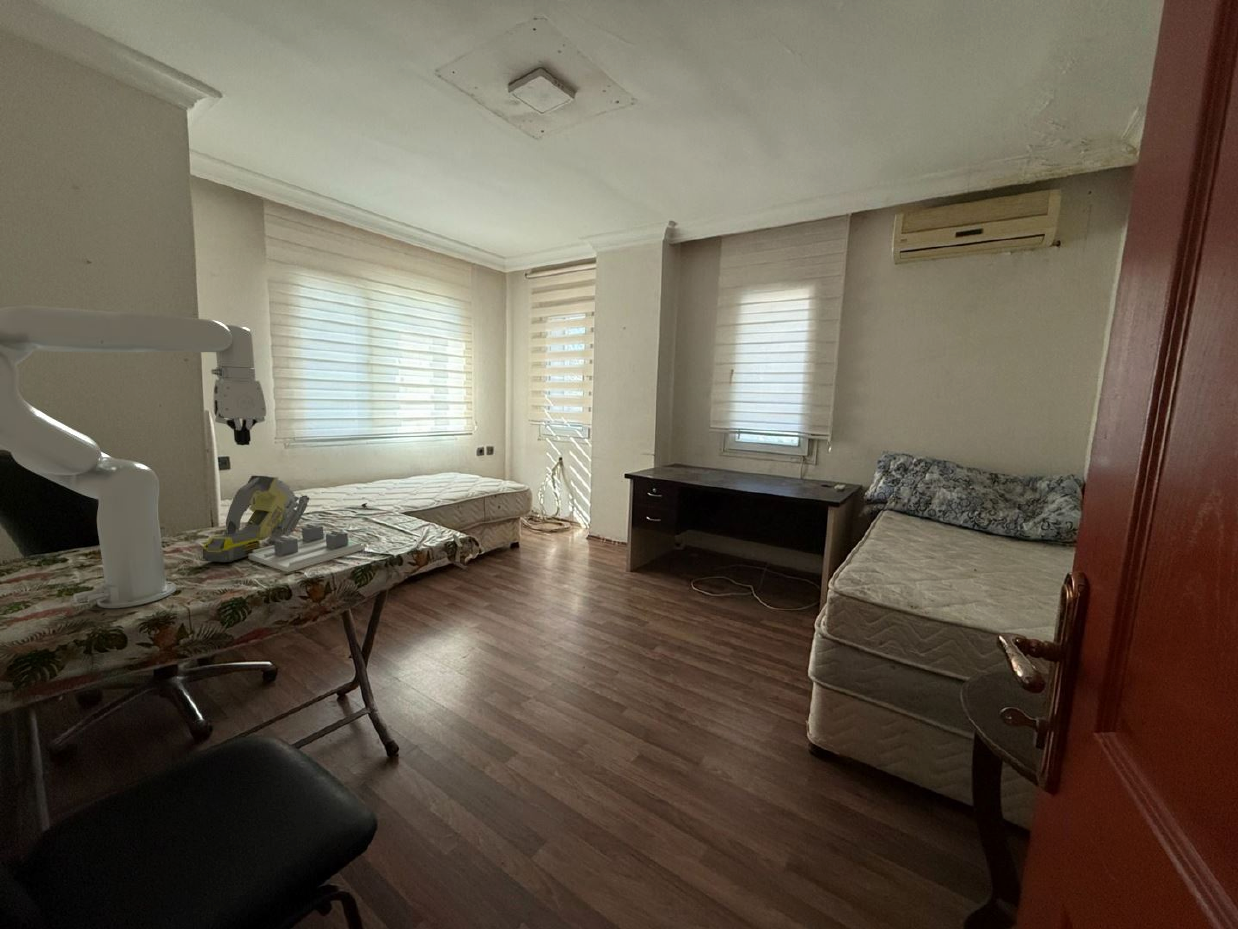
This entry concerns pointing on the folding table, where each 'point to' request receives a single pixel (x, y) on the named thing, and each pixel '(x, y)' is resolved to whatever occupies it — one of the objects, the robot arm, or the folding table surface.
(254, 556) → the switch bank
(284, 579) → the folding table surface
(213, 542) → the circular saw
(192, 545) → the folding table surface
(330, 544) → the tab near
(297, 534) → the folding table surface
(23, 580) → the folding table surface
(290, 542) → the tab mid
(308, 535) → the tab far
